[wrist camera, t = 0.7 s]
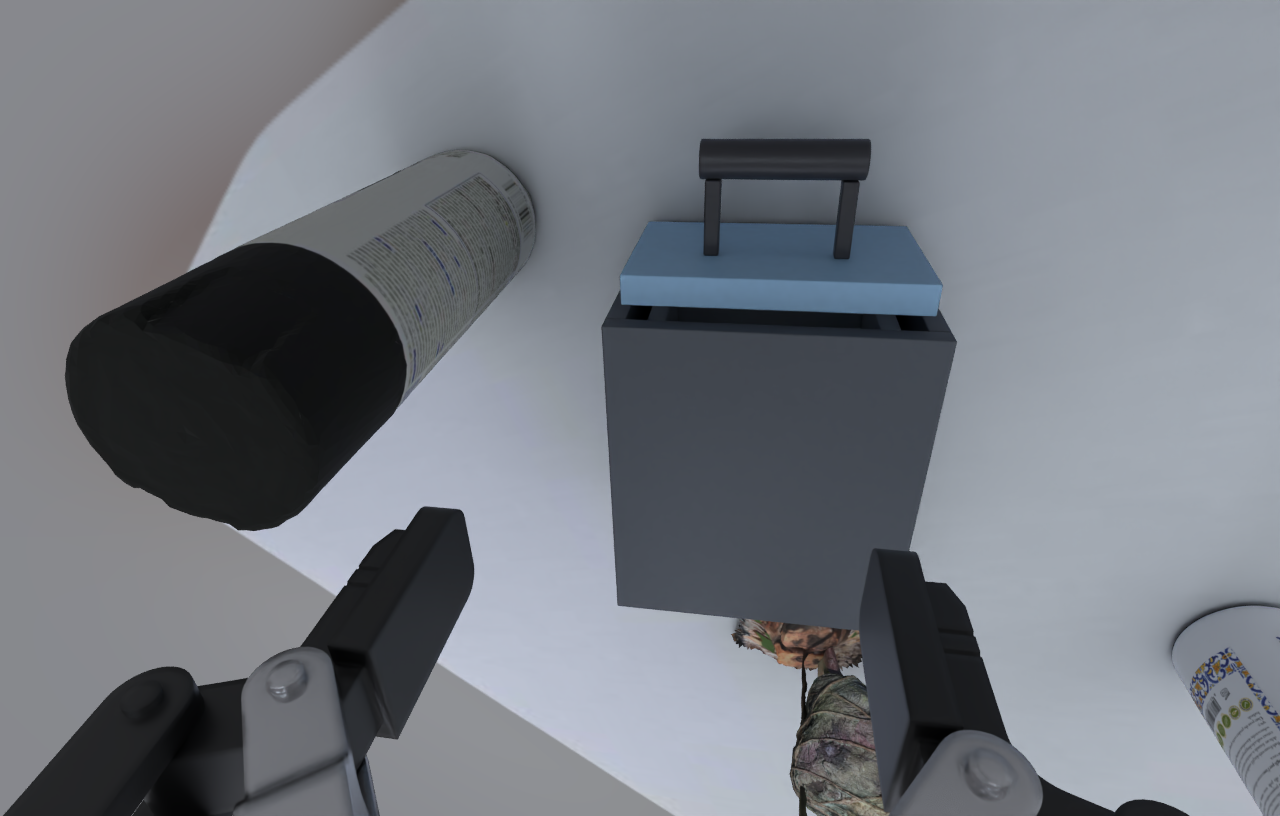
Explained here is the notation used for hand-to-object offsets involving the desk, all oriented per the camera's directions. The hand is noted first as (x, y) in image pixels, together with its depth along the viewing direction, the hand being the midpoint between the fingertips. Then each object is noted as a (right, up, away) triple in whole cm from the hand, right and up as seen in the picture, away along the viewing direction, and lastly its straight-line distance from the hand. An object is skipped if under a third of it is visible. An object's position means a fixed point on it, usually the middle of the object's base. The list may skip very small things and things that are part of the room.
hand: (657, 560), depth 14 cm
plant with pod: (+11, -11, +31) cm, 34 cm away
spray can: (-8, +12, +20) cm, 25 cm away
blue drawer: (+6, +7, +20) cm, 22 cm away
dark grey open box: (+6, +4, +23) cm, 24 cm away
